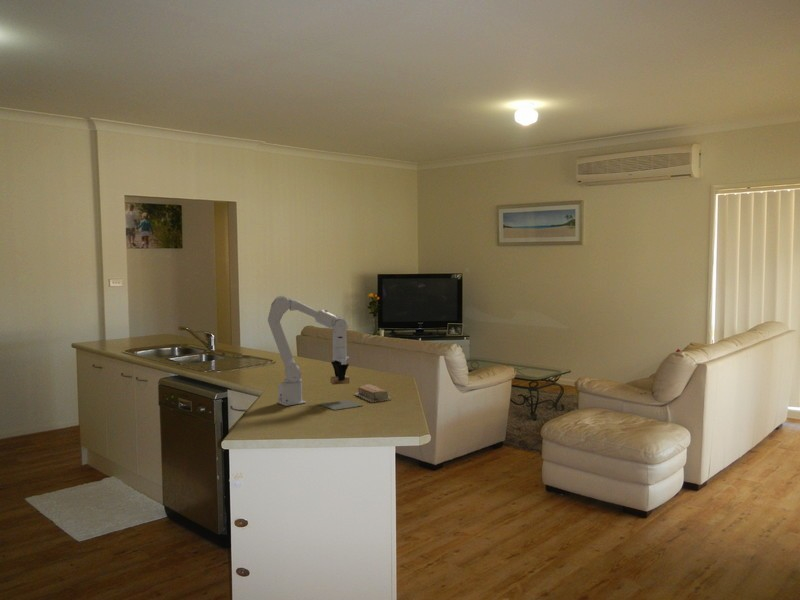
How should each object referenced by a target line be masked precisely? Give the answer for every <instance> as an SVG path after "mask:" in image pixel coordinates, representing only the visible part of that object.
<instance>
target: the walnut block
mask: <svg viewBox="0 0 800 600" xmlns="http://www.w3.org/2000/svg"><path fill="white" fill-rule="evenodd" d="M329 378H330V381H329V382H330V383H331V385H347V384H350V376H348V375H346V374H345V378H344V380H342V381H339V379H338V376H335V375H334V376H330V377H329Z"/></svg>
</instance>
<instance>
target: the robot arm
mask: <svg viewBox="0 0 800 600" xmlns="http://www.w3.org/2000/svg"><path fill="white" fill-rule="evenodd" d="M288 311H290V312H291V311H298V312H300V313H302V314H303V313H304V314H306V315H308V316H311V317H312V318H314V319H315V322H316V323H318V324H320V325H322V326H324V327H326V328H329V329H332V359H331V360H334V361H330V363H331V365H332V368H333V371H334V376H338V379H339V381H342V380H344V378H345V376H346V373H347V371H348V367H349V366H350V364H349V363H347V360H349V359H350V356H347V355H348V354H347V349H348V347H347V346H348V345H347V344H348V343H347V329H348V323H347V321H346V319H344V318H342V317H340V316H339V315H337V314H333V313H331V312H329V310H328V309H326V308H324V309H319V310H316V309H315V308H313V307H311V306H308V305H307V304H304V303H303V302H301V301H299V300H296V299H294V298H291V297H290V298H289V297H288V298H287V297H286V296H285V295H278V296H277V297H275V298H274V300H273V301H272V302H271V304H270V309H269V312H268V315H267V323H268V326H269V328H270V331H271V333H272V334H271V335H272V336H273V339H274V342H275V344H276V347H277V349H278V352H279V355H280V357H281V360H282V362H283V366H284V374H285V379H283V382H280V383H278V385H277V403H278V404H280V405H282V406H287V407H288V406H295V405H300V404H306V403H307V401H305V400H303V379H302V371H301V367H300V366H299V365H298V364H297V363H296V361H295V357H294V356H293V353H292V350H291V348H290V345H289V343H288V340H287V336H286V335H285V333H284V330H283V327H282V324H281V321H282V318H283V317H284V315H285V313H287V312H288Z"/></svg>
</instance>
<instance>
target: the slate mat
mask: <svg viewBox="0 0 800 600" xmlns="http://www.w3.org/2000/svg"><path fill="white" fill-rule="evenodd" d="M319 405H320V406H321V405H322V406H321V407H324V406H325V407H324V408H326V407H327V408H326V409H329V408H330V409H329V410H332V411H334V410H335V411H339V409H341V410H347V409H346V408H348V409H352V408H351V407H354V408H359V407H358V406H361V407H364V405H363V404H361V403H358V402H355V401H351V400H349V399H346V400H338V401H333V402H332V401H331V402H330V401H329V402H326V403H325V402H324V403H319Z"/></svg>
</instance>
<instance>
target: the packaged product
mask: <svg viewBox="0 0 800 600" xmlns="http://www.w3.org/2000/svg"><path fill="white" fill-rule="evenodd" d="M357 391H358V392H353V395H354V396H356V397H358V396H359V397H358V398H360V397H361V398H360V399H362V398H363V399H362V400H364V399H366V400H365V401H367V400H368V401H367V402H369V401H370V402H369V403H374V402H373V401H380V402H383V401H382V400H388V401H392V400H391V399H392V397H391V396H389V393H388V390H385V389H383V388H381V387H379V386H376V385H373V384H371V383H367V384H363V385H361V386H359V387H358V389H357Z"/></svg>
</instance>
